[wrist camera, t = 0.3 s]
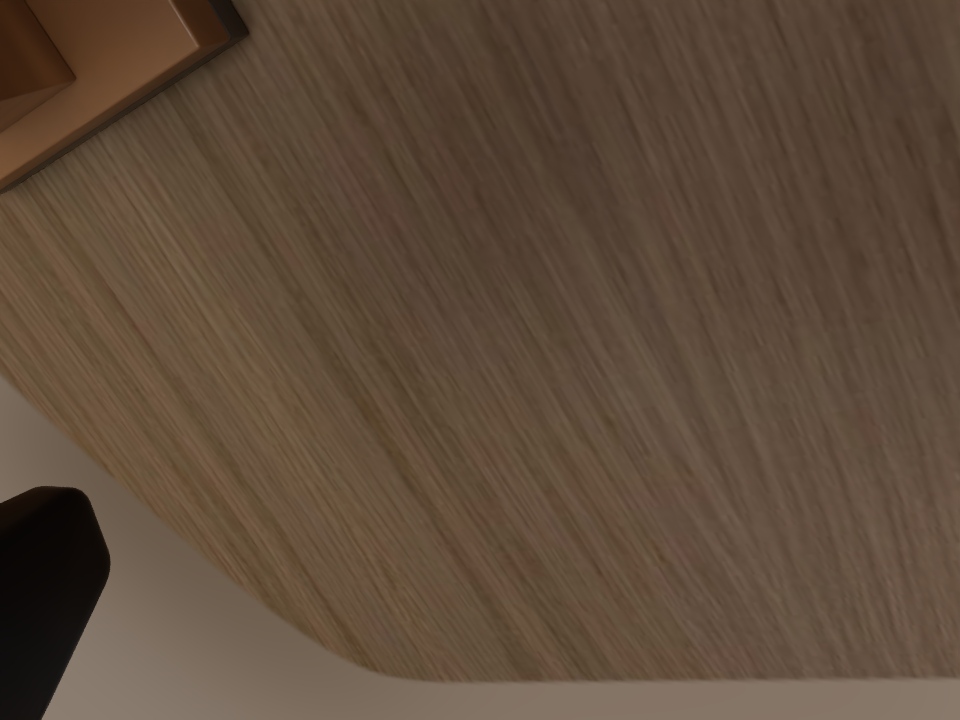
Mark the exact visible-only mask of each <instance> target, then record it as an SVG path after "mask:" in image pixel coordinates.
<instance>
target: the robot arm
mask: <svg viewBox="0 0 960 720" xmlns="http://www.w3.org/2000/svg"><path fill="white" fill-rule="evenodd" d="M109 572H110V554H109V551H108V548H107V545H106V543H105V540H104V537H103V535H102V532H101V529H100V527H99V524H98V521H97V519H96V516H95V513H94V510H93V508H92V505H91V502H90V500H89V498H88V497H87V496H86V495H85V494H84V493H83V492H82V491H81V490H79V489H76V488H70V487H55V486H41V487H35V488H33V489H30V490H28V491H26V492H24V493H22V494H19V495H18V496H15V497H13V498H11V499H9V500H7V501H4V502H3V503H0V720H41V719H42V717H43V715H44V713H45V711H46V709H47V707H48V705H49V703H50V701H51V699H52V697H53V695H54V693H55V690H56V688H57V686H58V684H59V682H60V680H61V678H62V676H63V673H64V671H65V669H66V667H67V665H68V663H69V661H70V659H71V657H72V654H73V652H74V650H75V648H76V646H77V644H78V642H79V640H80V637H81V635H82V633H83V631H84V629H85V627H86V625H87V623H88V620H89V618H90V616H91V614H92V612H93V610H94V608H95V606H96V604H97V601H98V599H99V597H100V595H101V593H102V590H103V589H104V587H105V584H106V582H107V579H108V576H109Z"/></svg>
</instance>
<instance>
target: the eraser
mask: <svg viewBox="0 0 960 720" xmlns="http://www.w3.org/2000/svg"><path fill="white" fill-rule="evenodd" d="M247 35H248V31H247V30H246V28H245V26H244V24H243V23H242V21H241V19H240V18H239V16H238V14H237V13H236V11H235V9H234V8H233V6H232V4H231V3H230V1H229V0H0V194H3V193H5V192H7V191H9V190H10V189H12V188H13V187H15V186H17V185H18V184H20V183H21V182H23V181H24V180H26V179H27V178H29V177H30V176H32V175H34V174H35V173H37V172H38V171H40V170H41V169H43V168H44V167H46V166H47V165H49V164H50V163H52V162H54V161H55V160H57V159H58V158H60V157H61V156H63V155H64V154H66V153H67V152H69V151H71V150H72V149H74V148H75V147H77V146H78V145H80V144H81V143H83V142H84V141H86V140H88V139H89V138H91V137H92V136H94V135H95V134H97V133H98V132H100V131H101V130H103V129H104V128H106V127H108V126H109V125H111V124H112V123H114V122H115V121H117V120H118V119H120V118H121V117H123V116H125V115H126V114H128V113H129V112H131V111H132V110H134V109H135V108H137V107H138V106H140V105H141V104H143V103H145V102H146V101H148V100H149V99H151V98H152V97H154V96H155V95H157V94H158V93H160V92H162V91H163V90H165V89H166V88H168V87H169V86H171V85H172V84H174V83H175V82H177V81H179V80H180V79H182V78H183V77H185V76H186V75H188V74H189V73H191V72H192V71H194V70H195V69H197V68H199V67H200V66H202V65H203V64H205V63H206V62H208V61H209V60H211V59H212V58H214V57H216V56H217V55H219V54H220V53H222V52H223V51H225V50H226V49H228V48H229V47H231V46H232V45H234V44H236V43H237V42H239V41H240V40H242V39H243V38H245V37H246V36H247Z"/></svg>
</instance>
